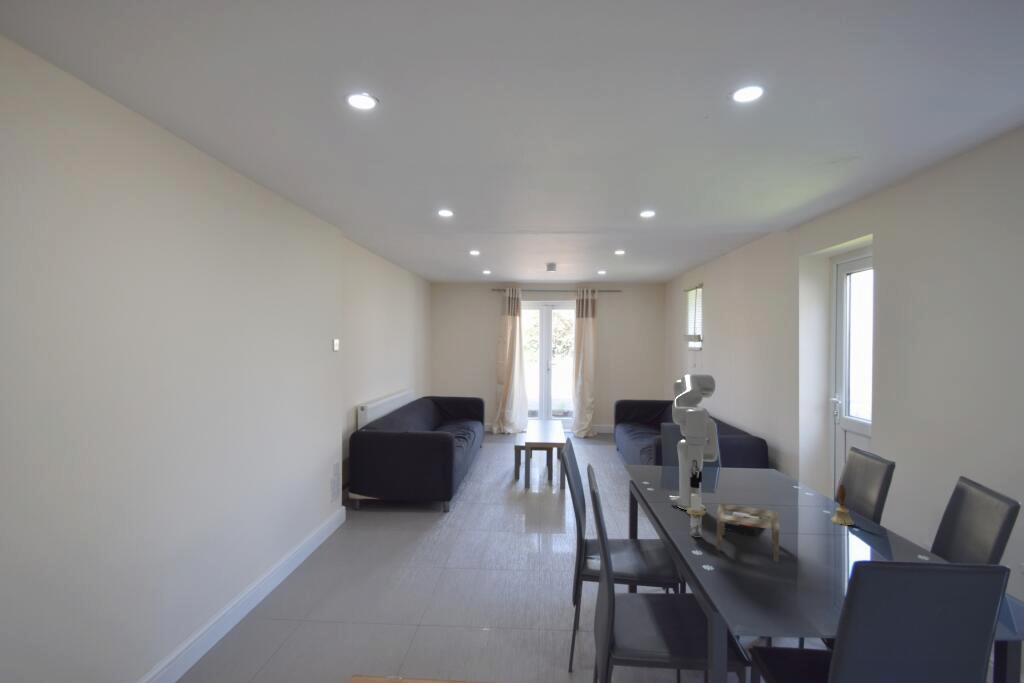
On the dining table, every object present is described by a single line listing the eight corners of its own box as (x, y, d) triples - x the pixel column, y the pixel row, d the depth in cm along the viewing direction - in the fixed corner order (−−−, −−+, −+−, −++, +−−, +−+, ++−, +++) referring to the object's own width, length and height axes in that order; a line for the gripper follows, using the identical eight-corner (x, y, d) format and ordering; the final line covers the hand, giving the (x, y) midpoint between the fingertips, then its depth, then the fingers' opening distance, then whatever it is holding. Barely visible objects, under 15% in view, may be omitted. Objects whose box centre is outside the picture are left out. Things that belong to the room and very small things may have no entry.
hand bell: (829, 522, 198) (829, 484, 198) (832, 517, 204) (832, 481, 204) (853, 527, 192) (852, 488, 192) (855, 522, 198) (855, 484, 198)
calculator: (724, 521, 189) (732, 509, 201) (724, 531, 189) (733, 519, 201) (754, 527, 182) (761, 515, 194) (754, 538, 183) (761, 525, 194)
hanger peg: (685, 537, 180) (685, 496, 181) (687, 531, 187) (687, 491, 187) (704, 540, 177) (704, 498, 178) (706, 534, 183) (706, 494, 184)
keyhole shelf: (716, 550, 168) (716, 517, 169) (719, 533, 184) (719, 503, 185) (779, 562, 159) (779, 527, 159) (777, 543, 175) (777, 511, 175)
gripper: (688, 437, 192) (688, 478, 191) (683, 443, 177) (683, 488, 176) (708, 438, 188) (708, 481, 188) (704, 445, 173) (704, 491, 172)
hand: (696, 484), depth 182 cm, fingers open, 9 cm apart
